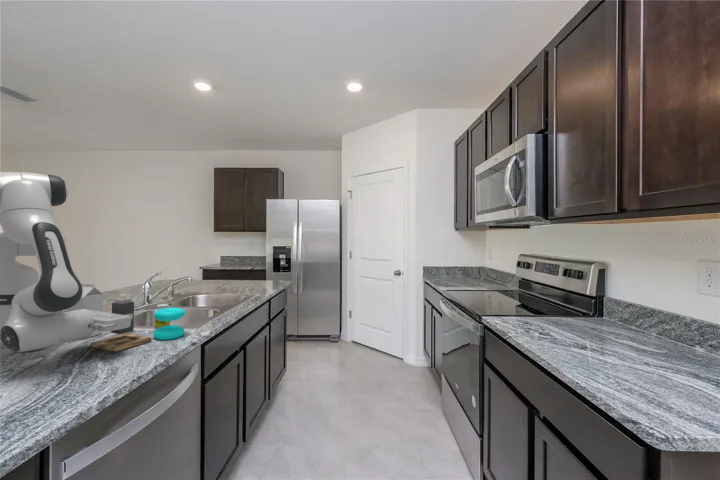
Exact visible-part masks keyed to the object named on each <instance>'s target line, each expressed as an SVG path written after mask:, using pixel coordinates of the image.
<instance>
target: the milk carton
mask: <svg viewBox="0 0 720 480" xmlns="http://www.w3.org/2000/svg"><path fill="white" fill-rule="evenodd" d="M80 283H81V282H80ZM81 285H82V289H83V293H82V297H81V299H80V300H79V302H78V303H77V304H75V305H74V306H73V307H71V308H68V309H67V311H73V310H80V309H87V310H94V311H101V312H104V293H103V292H101V291H100V290H99V289H97V287H95V284H94V283H93V284H92V283H81ZM102 334H103V331H98V330H95V331H94V332H93V333H92V334H91V335H90V336H89V337H87V338H83V339H82V340H84V339H88V338H91V337H95V336H98V335H102Z"/></svg>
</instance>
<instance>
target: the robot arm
mask: <svg viewBox="0 0 720 480" xmlns="http://www.w3.org/2000/svg"><path fill="white" fill-rule="evenodd" d="M68 195H69V189H68V185H67V184H66V182H65V180H64V179H63V178H61V176H58V175H55V174H43V173H42V174H41V173H35V172H27V171H19V172H18V171H0V339H1V342H2V344H3V345H4V347H6V349H8V350H10V351H13V352H18V353H19V352H21V353H22V352H29V351H30V350H36V349H41V348H44V349H46V347H47V348H50V347H53V346H55V345H57V344H61V343H70V342H75V341H78V340H84V339H83V338H85V339H88V338H90V337H89V336H90V335H91V334H92V333H93V332H94V331H95V330H98V331H102V332H111V331H114V330H119V329H124V328H128V327H130V326H131V319H132V318H133V314H130V313H128V314H125V315H121V314H115V313H112V311H111V312H108V311H103V312H101V311H94V310H87V309H80V310H73V311H68V308H71V307H73V306H74V305H75V304H77V303H78V302H79V300H80V299H81V297H82V293H83V289H82V285H81V281H80V279H79V278H78V277H77V275H76V274H75V273H74V271H73V268H72V265H71V262H70V259H69V255H68V251H67V247H66V239H65V236H64V234H63V233H62V232H61V231H60V229H59V228H58V227H57V225H56V222H55V216H54V210H53V207H56V206H57V207H58V206H62V205H64V204H65V203H66V201H67V198H68ZM27 256H28V257H32V256H33V257H34V256H35V257H36V258H37V263H38V267H39V271H40V275H39V272H38V270H37V269H36V268H34V267H32V266H29V265H28V264H27V265H26V264H23V263H20V262H18V261H17V260H16V257H27ZM87 337H88V338H87ZM41 350H42V349H41Z"/></svg>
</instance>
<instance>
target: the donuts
mask: <svg viewBox="0 0 720 480" xmlns="http://www.w3.org/2000/svg"><path fill="white" fill-rule="evenodd" d="M156 310H157V309H156ZM156 310H155V311H156ZM155 311H154V312H153V317H154V318H155V319H157V320H159V321H170V322H172V321H174V322H175V321H177V320H180V319H182V318H184V316H185V314H186V310H185V309H184V308H181V307H168V308H164V309H160V310H157V311H156V312H155ZM184 334H185V329H184V328H183V326H181V325H178V324H177V325H176V324H170V325H168V326H163V327H160V328H158V329H156V330H155V329H154V332H153V334H152V335H153V338H155V339H156V340H161V341H163V340H164V341H166V340H168V341H169V340H175V339H178V338H180V337H182V336H183V335H184Z"/></svg>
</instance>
